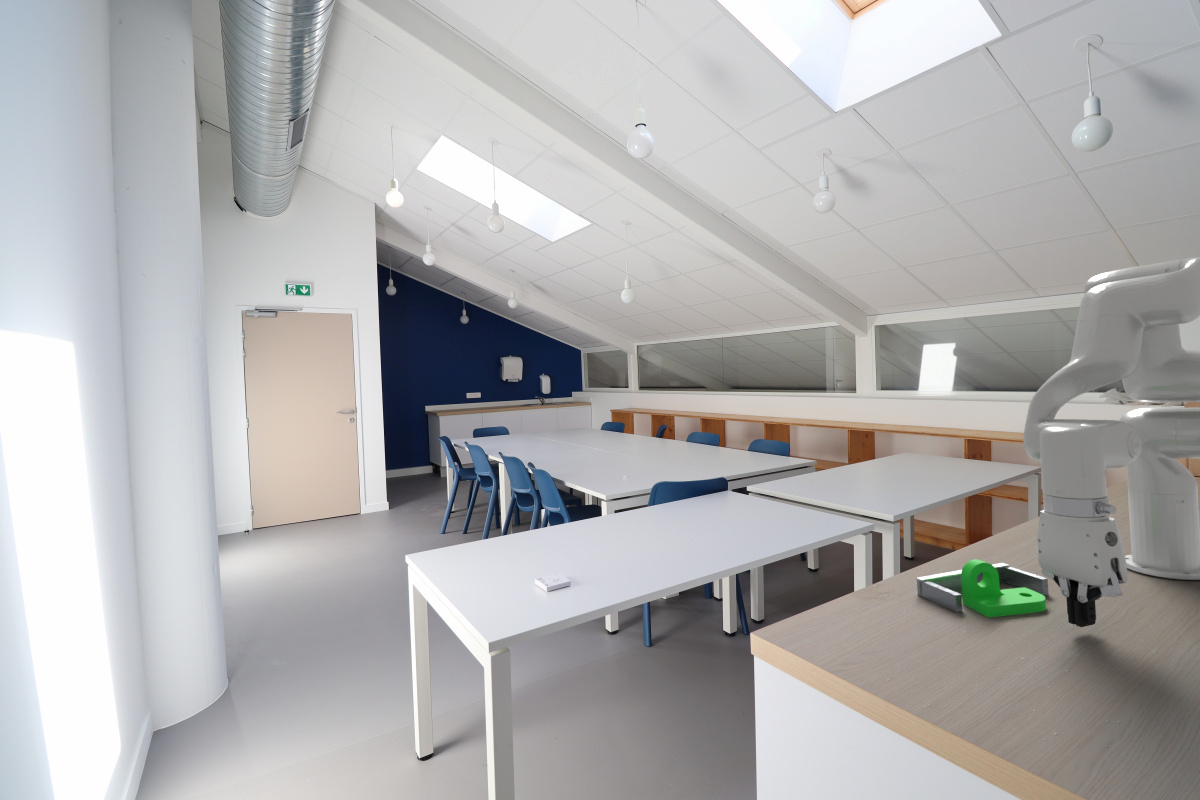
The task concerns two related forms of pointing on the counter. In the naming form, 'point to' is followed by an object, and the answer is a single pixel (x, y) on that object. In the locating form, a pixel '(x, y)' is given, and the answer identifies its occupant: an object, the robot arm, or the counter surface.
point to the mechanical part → (996, 593)
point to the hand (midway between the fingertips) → (1082, 623)
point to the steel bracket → (946, 584)
